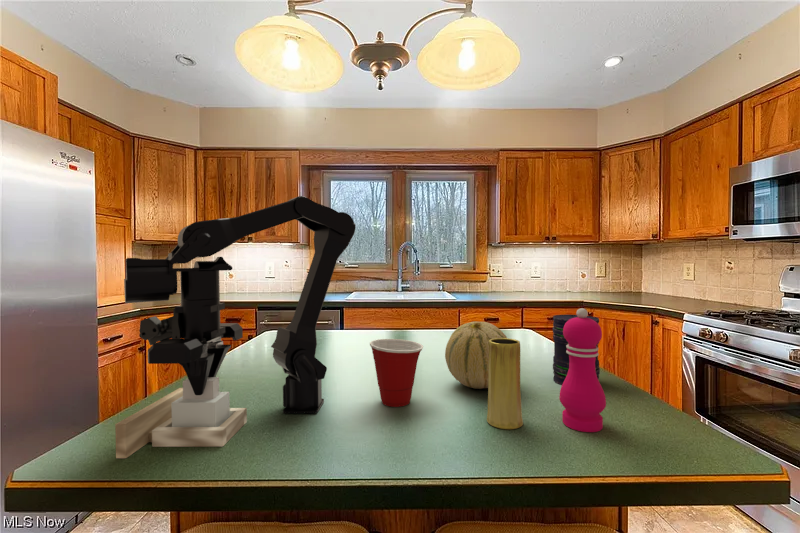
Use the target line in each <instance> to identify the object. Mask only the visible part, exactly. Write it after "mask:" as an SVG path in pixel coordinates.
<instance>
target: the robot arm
mask: <svg viewBox="0 0 800 533" xmlns="http://www.w3.org/2000/svg"><path fill="white" fill-rule="evenodd" d="M293 220H295V221H298V223H300V224H302V226H304V227H305V228H307V229H308V230H310V231H312V232H314V235H313V246H314V254H313V257H312V260H311V263H310V266H309V269H308V272H307V275H306V278H305V282H304V284H303V288H302V290H301V293H300V296H299V298H298V303H297V306H296V308H295V311H294V313H293V317H292V320H291V321H290V323H289V324H288V325H287V326H286V327H284V328H283V327H281V326H278V328H277V330H276V335H275V336H276V337H275V339H274V342H273V343H272V345H271V346H270V347H271V348H272V349H273V351H272V358H273V359H274V361H275V364H276V365H278V366H279V367H281V368H282V370H283V372H284V374H287V376H286V377H285V378H284V379H285V383H284V384H283V385H282V406H283V407H284V408H283V410H282V414H318V413H319V411H320V409H321V407H322V406H323V404H324V402H325V398H322V397H323V396H322V392H323V390H322V389H323V388H322V387H323V386H322V385H323V384H322V382H323V381H322V380H324V379H325V377H326V374H327V370H328V368H327V366H326V365H325V364H323V363H322V362H321V361H320V360H319V359H317V357H316V352H317V345H318V341H317V329H316V328H317V323H318V321H319V318H320V314H321V311H322V308H323V306H324V303H325V299H326V296H327V293H328V290H329V287H330V283H331V280H332V277H333V274H334V270H335V268H336V265H337V262H338V259H339V258H340V256H341V255H342V254H343V253H344V252H345V250H346V249H347V248H348V246H349V245H350V242H352V238H353V236H354V235H355V233H356V228H357V227H356V223H355V222H354V219H353V217H352V216H351V214H350V215H349V213H347V212H344V211H338V210H336V209H333V208H331V207H329V206H326V205H323V204H320V203H318V202H315V201H314V200H313V199H310V198H309V197H306V196H304V195H299V196H296V197H293V198H290V199H288V200H287V201H284V202H281V203H278V204H274V205H271V206H267V207H264V208H262V209H258V210H255V211H251V212H248V213H246V214H245V213H244V214H243V215H239V216H235V217H227V218H226V217H225V218H217V219H208V220H200V221H195V222H193V223H191V224H188V225H187V226H184V227H182V229H181V230H180V231H179V233H178V235H177V245H176V246H175V247H174V249H172V250H171V252H170V253H168V254H167V257H165V258H147V259H146V258H139V257H127V258H125V278H124V279H123V282H124V283H123V285H124V286H123V287H124V288H123V289H124V303H125V304H134V303H135V304H137V303H148V302H149V303H150V302H166V301H167V302H168V301H169V300H170V297H171V296H173V295H176V294H177V293H178V273H179V274H180V275H179V276H180V305H177V306H174V308H173V312H172V313H173V315H172V316H170V317H168V318H164V319H163V318H162V319H159V318H158V317H157V316H151V317H148V318H144V319H142V320H140V321H139V333H138V334H139V338H141V339H142V340H144V341H148V344H149V346H150V347H149V348H148V349H147V364H149V365H152V364H153V365H155V364H157V365H160V364H161V365H164V364H165V365H167V364H169V365H170V364H171V365H172V364H178V365H180V366H181V367H182V369H183V370H184V372H185V374H186V376H187V379H189V381H190V384H191V386H192V389H193V391H194V394H195V395H202V394H203V392H204V389H205V386H206V382H207V379H208V377H217V375H218V372H219V369H220V368H221V366H222V365H223V364H222V363H223V361H224V360H225V357H226V355H227V354H228V352H229V350H230V349H231V347H232V344H224V340H222V339H232V340H233V341H238V340H241V339H242V338H243V334H244V333H243V332H244V331H243V326H241V324H239V323H238V322H230V323H229V322H228V323H227V322H225V323H224V322H223V323H221V311H222V310H225V307H226V303H225V302H221V300H220V299H221V296H220V295H221V293H220V292H221V291H220V290H221V289H220V286H221V285H220V271H221V272H222V271H232V270H233V266H232V265H231V264H230V263H228V262H227V261H226V260H225V259H224V258H223V256H217V257H216V258H215V259H214V260H201V261H200V260H197V261H194V265H193V267H174V265H175V264H176V265H177V264H187V263H189V262H191V261H193V260H194V259H196V258H206V257H211V256H213V255H215V254H217V253H219V252H220V251H222V250H224V249H226V248H228V247H230V246H231V245H233V244H234V243H236V242H237V241H239V240H241V239H243V238H245V237H248V236H250V235H253V234H256V233H258V232H263V231H266V230H267V229H271V228H273V227H277V226H280V225H282V224H285V223H287V222H291V221H293Z"/></svg>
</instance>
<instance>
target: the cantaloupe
mask: <svg viewBox="0 0 800 533" xmlns="http://www.w3.org/2000/svg"><path fill="white" fill-rule="evenodd" d="M495 338H508V337H507V336H506V334H505V333H504V332H503V331H502V330H501V329H500V328H499V327H498V326H496V325H494V324H493V323H490V322H487V321H471V322H466V323H464V324H461V325H460V326H458V327H457V328H456V329H455V330H454V331H453V332H452V334H450V337H449V339H448V341H447V343H446V346H445V352H444V358H445V364H446V366H447V369H448V372H449V373H450V374H451V375H452V377H453V378H454V379H455V380H456V381H457V382H459V383H460V384H462V385H463V386H465V387H468V388H473V389H477V390H478V389H479V390H482V389H488V383H489V340H491V339H495Z"/></svg>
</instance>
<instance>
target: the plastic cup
mask: <svg viewBox="0 0 800 533" xmlns="http://www.w3.org/2000/svg"><path fill="white" fill-rule="evenodd" d="M369 346H370V347H371V351H372V357H373V361H374V366H375V374H376V379H377V386H378V389H379V395H380V400H381V403H382V404H383V405H384V406H386V407H394V408H400V407H405V406H407V405H409V404H410V402H411V399H412V393H413V387H414V384H415V383H414V382H415V378H416V372H417V365H418V360H419V356H420V353H422V352H421V351H423V348H424V345H422V344H421V343H420V342H417V341H413V340H408V339H399V338H397V339H396V338H380V339H379V338H378V339H374V340H371V341H370V342H369Z"/></svg>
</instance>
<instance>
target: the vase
mask: <svg viewBox="0 0 800 533" xmlns="http://www.w3.org/2000/svg"><path fill="white" fill-rule="evenodd" d="M487 390H488V391H487V394H488V395H487V415H486V422H487V423H488V424H489V425H490V426H492V427H494V428H496V429H501V430H515V429H519V428H521V427H523V425H524V420H523V413H522V412H523V411H522V410H523V409H522V394H521V392H522V391H521V341H520V340H518V339H515V338H508V337H507V338H495V339H491V340H489V383H488V388H487Z"/></svg>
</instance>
